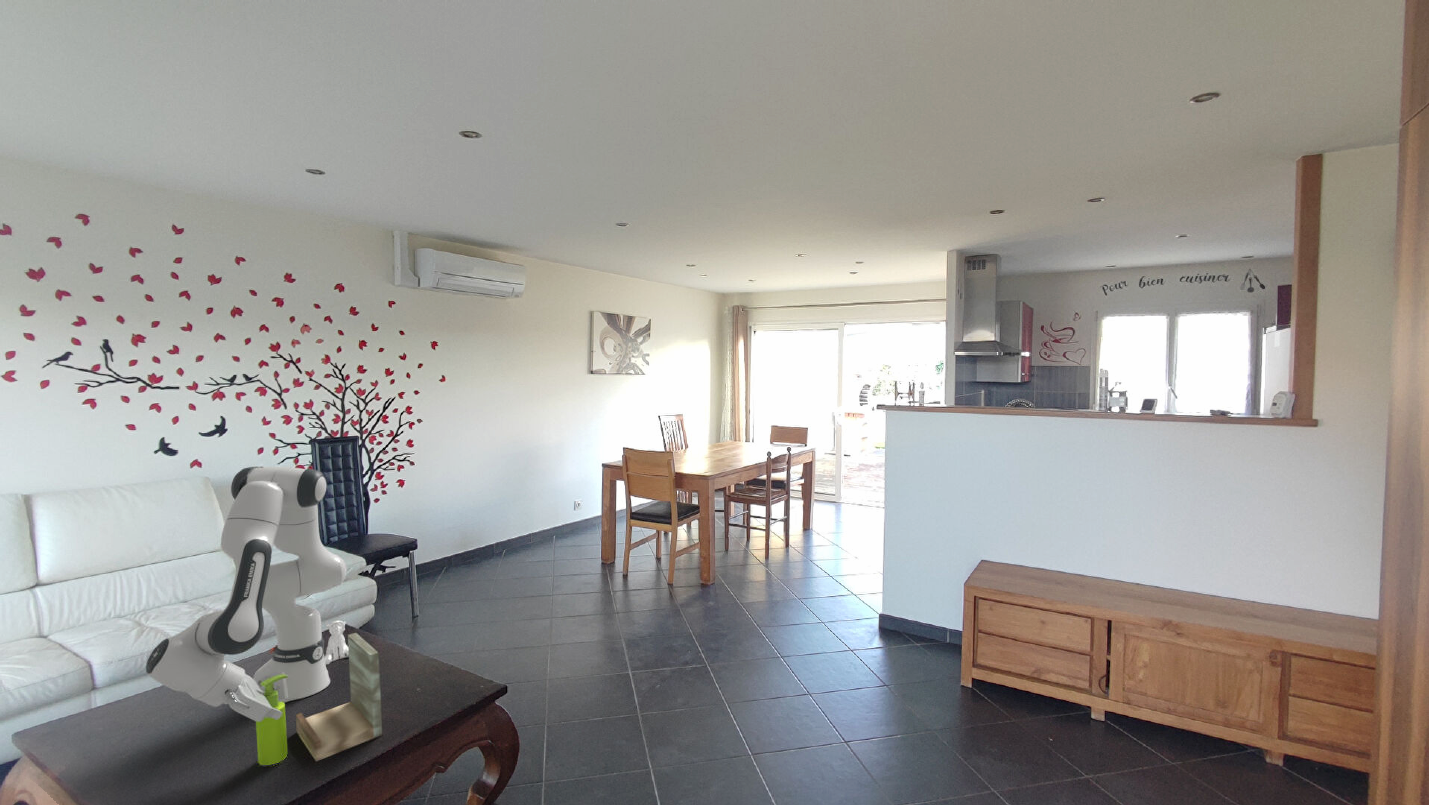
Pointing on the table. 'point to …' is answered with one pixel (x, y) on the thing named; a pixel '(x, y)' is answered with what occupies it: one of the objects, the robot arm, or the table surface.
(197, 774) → the table surface
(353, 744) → the wall board
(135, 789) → the table surface
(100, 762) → the table surface
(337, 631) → the white creature statuette
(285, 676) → the soap dispenser
